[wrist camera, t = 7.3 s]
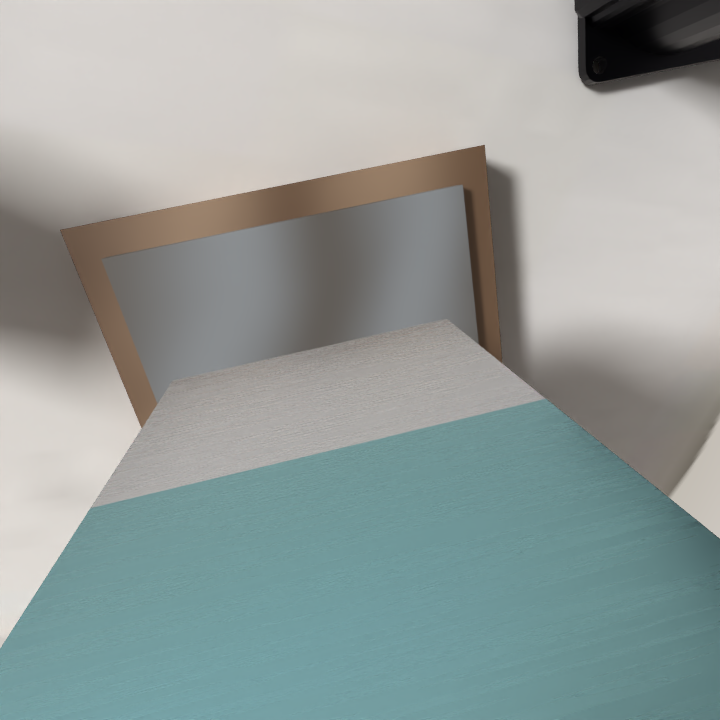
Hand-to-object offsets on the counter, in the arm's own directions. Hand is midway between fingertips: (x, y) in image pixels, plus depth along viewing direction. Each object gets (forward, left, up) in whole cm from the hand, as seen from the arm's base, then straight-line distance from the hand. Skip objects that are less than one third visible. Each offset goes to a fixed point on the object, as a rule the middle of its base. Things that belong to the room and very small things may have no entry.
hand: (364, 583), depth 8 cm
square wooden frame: (0, 0, -11) cm, 11 cm away
